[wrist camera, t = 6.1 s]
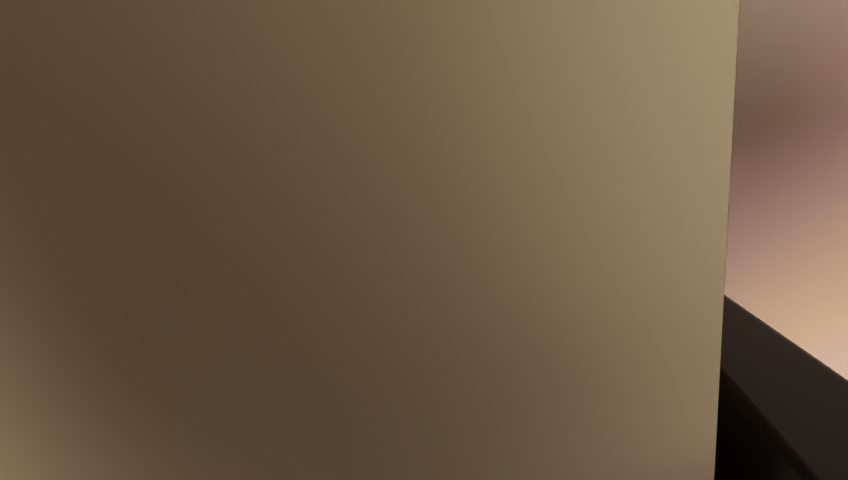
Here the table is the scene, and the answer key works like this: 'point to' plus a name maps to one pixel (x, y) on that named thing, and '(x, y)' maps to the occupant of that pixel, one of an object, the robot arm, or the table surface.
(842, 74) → the table surface
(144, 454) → the beige wooden block
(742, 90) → the table surface
